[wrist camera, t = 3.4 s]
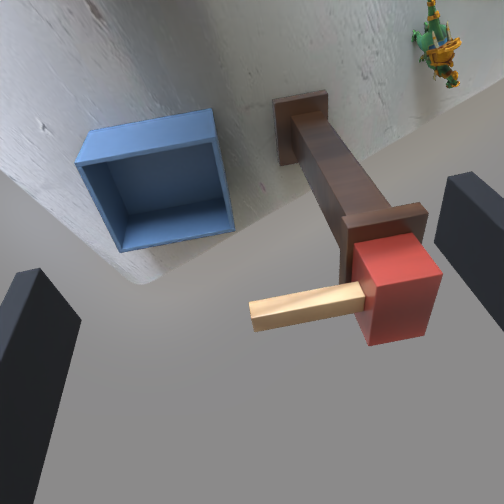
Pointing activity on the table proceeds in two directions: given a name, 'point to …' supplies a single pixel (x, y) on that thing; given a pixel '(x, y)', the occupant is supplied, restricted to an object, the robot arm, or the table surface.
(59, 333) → the robot arm
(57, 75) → the table surface
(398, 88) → the table surface
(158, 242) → the tub
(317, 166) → the stand
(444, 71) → the figurine
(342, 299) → the mallet
